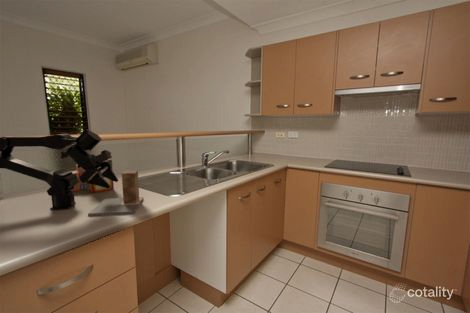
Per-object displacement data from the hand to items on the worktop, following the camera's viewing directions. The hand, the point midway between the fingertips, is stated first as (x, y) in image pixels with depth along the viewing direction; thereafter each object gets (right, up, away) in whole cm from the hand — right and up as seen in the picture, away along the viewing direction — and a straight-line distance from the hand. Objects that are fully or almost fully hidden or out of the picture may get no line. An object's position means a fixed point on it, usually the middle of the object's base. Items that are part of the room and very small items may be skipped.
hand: (113, 184), depth 94 cm
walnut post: (+6, -8, +2) cm, 10 cm away
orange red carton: (-28, -5, +23) cm, 36 cm away
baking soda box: (-17, -6, +21) cm, 28 cm away
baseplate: (+3, -9, -1) cm, 10 cm away
